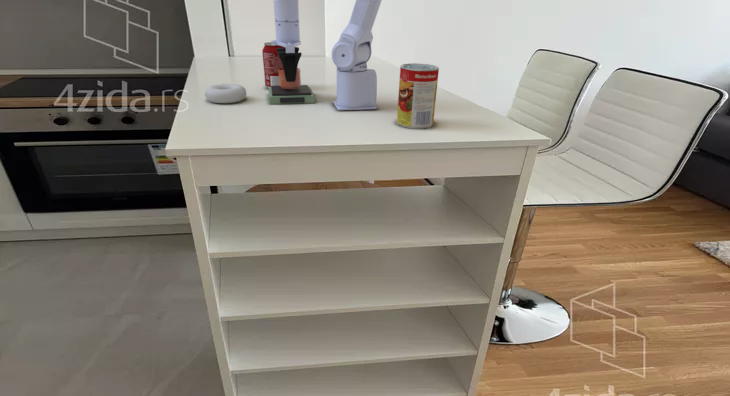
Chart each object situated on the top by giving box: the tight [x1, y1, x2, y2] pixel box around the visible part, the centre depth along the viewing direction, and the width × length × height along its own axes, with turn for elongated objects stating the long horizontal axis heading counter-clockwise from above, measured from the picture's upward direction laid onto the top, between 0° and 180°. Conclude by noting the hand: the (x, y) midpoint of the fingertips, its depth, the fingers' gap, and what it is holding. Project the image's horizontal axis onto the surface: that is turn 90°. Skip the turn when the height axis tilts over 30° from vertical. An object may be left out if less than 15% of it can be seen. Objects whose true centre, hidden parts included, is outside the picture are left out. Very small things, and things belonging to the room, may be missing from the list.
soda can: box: [262, 41, 283, 89], centre depth 118 cm, size 7×7×12 cm
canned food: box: [396, 62, 440, 130], centre depth 89 cm, size 8×8×12 cm
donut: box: [204, 83, 247, 104], centre depth 106 cm, size 10×4×10 cm
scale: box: [268, 84, 316, 105], centre depth 109 cm, size 11×11×2 cm
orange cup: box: [278, 67, 302, 89], centre depth 107 cm, size 5×5×4 cm
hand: (290, 79), depth 107 cm, fingers closed on orange cup, 5 cm apart
